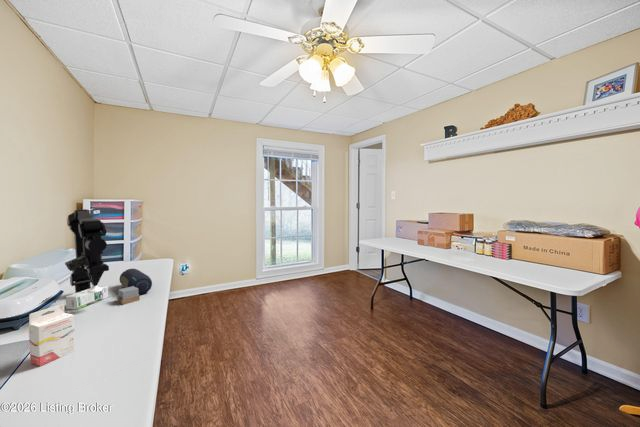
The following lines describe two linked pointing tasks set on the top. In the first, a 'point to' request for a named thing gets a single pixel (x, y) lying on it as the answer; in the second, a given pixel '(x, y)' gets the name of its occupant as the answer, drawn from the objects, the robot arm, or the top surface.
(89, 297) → the syrup box
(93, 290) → the chess piece
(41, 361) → the ink cartridge box
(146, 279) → the portable speaker
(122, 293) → the slate top block
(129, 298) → the walnut base block
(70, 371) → the top surface
